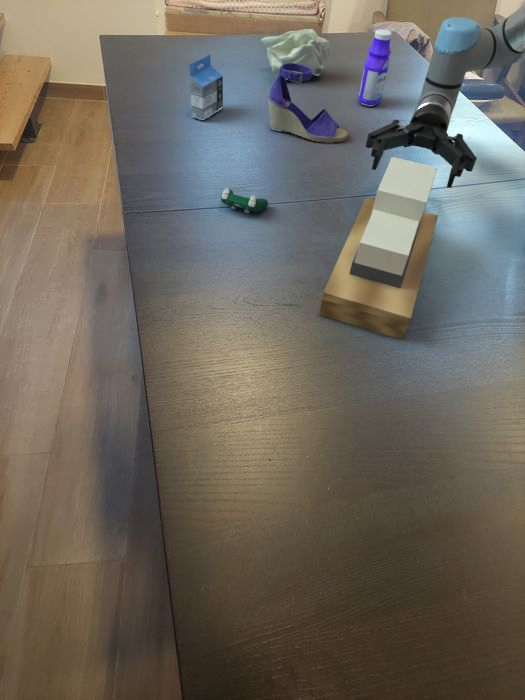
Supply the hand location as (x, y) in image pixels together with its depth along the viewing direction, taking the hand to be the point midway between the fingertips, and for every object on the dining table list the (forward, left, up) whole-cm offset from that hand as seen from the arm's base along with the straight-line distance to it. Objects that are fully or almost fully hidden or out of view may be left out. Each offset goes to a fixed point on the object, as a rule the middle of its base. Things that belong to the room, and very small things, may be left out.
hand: (412, 171), depth 90 cm
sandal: (+28, -32, -13) cm, 45 cm away
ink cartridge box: (+54, -30, -13) cm, 63 cm away
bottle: (+18, -57, -13) cm, 61 cm away
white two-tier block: (0, +11, -8) cm, 14 cm away
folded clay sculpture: (+42, -63, -13) cm, 77 cm away
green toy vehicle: (+30, +5, -13) cm, 33 cm away
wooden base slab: (0, +13, -13) cm, 19 cm away
